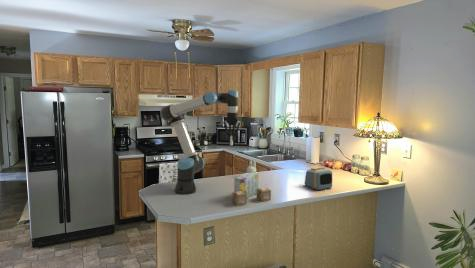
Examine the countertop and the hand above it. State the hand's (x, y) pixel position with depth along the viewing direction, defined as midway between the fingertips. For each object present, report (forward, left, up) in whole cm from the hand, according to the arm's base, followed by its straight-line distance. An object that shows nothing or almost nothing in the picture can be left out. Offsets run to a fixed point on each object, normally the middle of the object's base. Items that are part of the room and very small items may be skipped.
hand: (231, 145), depth 221 cm
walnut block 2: (+24, +14, -35) cm, 44 cm away
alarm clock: (+15, +70, -35) cm, 79 cm away
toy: (-25, +29, -35) cm, 52 cm away
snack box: (+14, +6, -35) cm, 38 cm away
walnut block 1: (+25, -5, -35) cm, 43 cm away
